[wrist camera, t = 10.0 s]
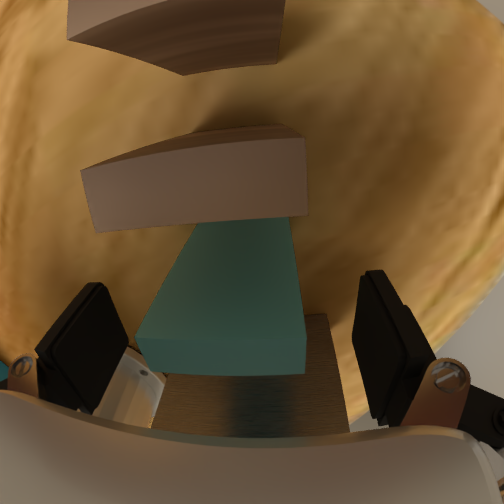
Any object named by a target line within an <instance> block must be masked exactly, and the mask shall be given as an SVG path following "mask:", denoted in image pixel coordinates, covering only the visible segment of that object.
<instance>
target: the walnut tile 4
mask: <svg viewBox="0 0 504 504" xmlns="http://www.w3.org/2000/svg"><path fill="white" fill-rule="evenodd" d="M80 171H81V176H82V181H83V185H84V189H85V194H86V198H87V202H88V206H89V210H90V213H91V217H92V221H93V224H94V228H95V231H96V233H102V232H110V231H120V230H129V229H139V228H149V227H159V226H170V225H181V224H193V223H205V222H217V221H231V220H245V219H260V218H276V217H294V216H308V187H307V163H306V145H305V137H303V136H301V135H300V134H298V133H297V132H295V131H293V130H292V129H290V128H288V127H287V126H285V125H283V124H272V125H258V126H246V127H236V128H227V129H219V130H211V131H203V132H197V133H190V134H186V135H182V136H179V137H175V138H172V139H168V140H165V141H162V142H158V143H155V144H152V145H149V146H145V147H142V148H139V149H136V150H133V151H130V152H128V153H125V154H122V155H119V156H116V157H114V158H111V159H108V160H106V161H103V162H100V163H98V164H95V165H93V166H90V167H88V168H85V169H83V170H80Z"/></svg>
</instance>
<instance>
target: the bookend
mask: <svg viewBox="0 0 504 504" xmlns="http://www.w3.org/2000/svg"><path fill="white" fill-rule="evenodd" d="M304 321H305V329H306V336H307V340H306V361H305V374H289V375H264V376H217V375H191V374H175V373H169V374H168V377H167V380H166V383H165V386H164V389H163V392H162V395H161V398H160V401H159V404H158V407H157V410H156V413H155V416H154V420H153V423H152V426H151V429H156V430H162V431H169V432H176V433H184V434H193V435H204V436H217V437H234V438H289V437H308V436H322V435H333V434H342V433H350V429H349V423H348V417H347V411H346V405H345V400H344V394H343V389H342V384H341V379H340V374H339V369H338V364H337V359H336V354H335V349H334V345H333V340H332V336H331V331H330V327H329V322H328V318H327V314H317V315H304Z"/></svg>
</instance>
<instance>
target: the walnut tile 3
mask: <svg viewBox="0 0 504 504" xmlns="http://www.w3.org/2000/svg"><path fill="white" fill-rule="evenodd" d="M284 7H285V0H69V1H68V15H67V40H69V41H74V42H79V43H83V44H87V45H91V46H95V47H99V48H102V49H106V50H110V51H113V52H117V53H120V54H123V55H126V56H130V57H133V58H136V59H139V60H142V61H145V62H148V63H151V64H153V65H156V66H159V67H162V68H164V69H167V70H170V71H172V72H175V73H177V74H180V75H182V76H184V75H190V74H195V73H201V72H206V71H213V70H219V69H227V68H235V67H244V66H254V65H267V64H276V63H277V56H278V49H279V42H280V35H281V28H282V21H283V14H284Z"/></svg>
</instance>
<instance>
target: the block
mask: <svg viewBox="0 0 504 504" xmlns="http://www.w3.org/2000/svg"><path fill="white" fill-rule="evenodd" d="M8 370H9V367H7V366H6V365H5V364H4V363H3V362H2V361H0V381H2V380H4V379H6V378H8Z"/></svg>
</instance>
